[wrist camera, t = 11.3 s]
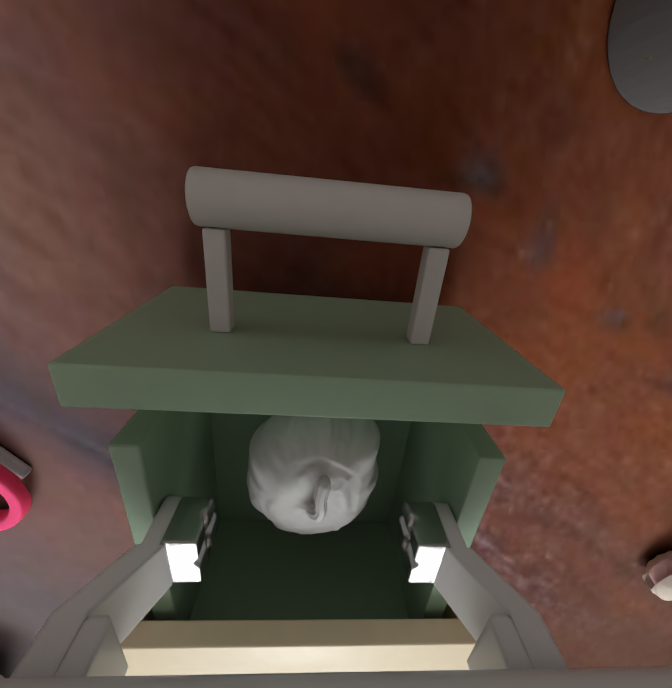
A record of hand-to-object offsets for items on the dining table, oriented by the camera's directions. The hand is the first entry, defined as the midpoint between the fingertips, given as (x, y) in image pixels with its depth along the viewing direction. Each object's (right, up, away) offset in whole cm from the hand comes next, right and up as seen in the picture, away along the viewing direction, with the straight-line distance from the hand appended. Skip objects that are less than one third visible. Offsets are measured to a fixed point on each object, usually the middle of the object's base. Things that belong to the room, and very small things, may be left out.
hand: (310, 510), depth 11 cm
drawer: (0, +4, +5) cm, 6 cm away
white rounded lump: (+26, -11, +14) cm, 32 cm away
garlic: (0, +2, +4) cm, 5 cm away
